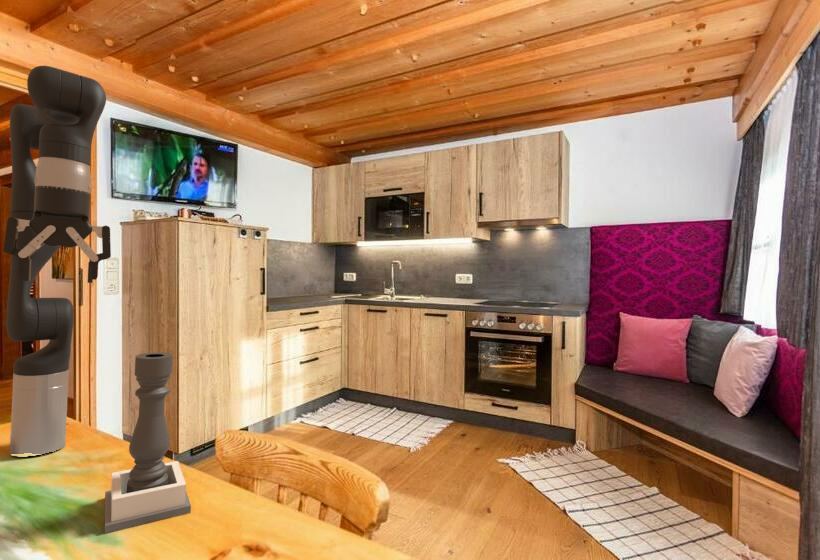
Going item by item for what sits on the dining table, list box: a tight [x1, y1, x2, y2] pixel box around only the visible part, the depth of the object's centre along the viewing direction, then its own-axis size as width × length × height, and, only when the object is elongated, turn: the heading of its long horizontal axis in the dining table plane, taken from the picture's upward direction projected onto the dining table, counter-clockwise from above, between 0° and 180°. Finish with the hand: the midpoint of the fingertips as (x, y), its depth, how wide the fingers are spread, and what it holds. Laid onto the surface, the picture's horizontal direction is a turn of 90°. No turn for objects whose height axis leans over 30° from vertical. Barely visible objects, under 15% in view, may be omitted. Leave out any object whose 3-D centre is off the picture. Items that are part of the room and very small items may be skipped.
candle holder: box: [127, 352, 174, 493], centre depth 75 cm, size 6×6×25 cm
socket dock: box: [104, 460, 192, 534], centre depth 75 cm, size 12×12×5 cm
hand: (59, 281), depth 75 cm, fingers open, 8 cm apart
